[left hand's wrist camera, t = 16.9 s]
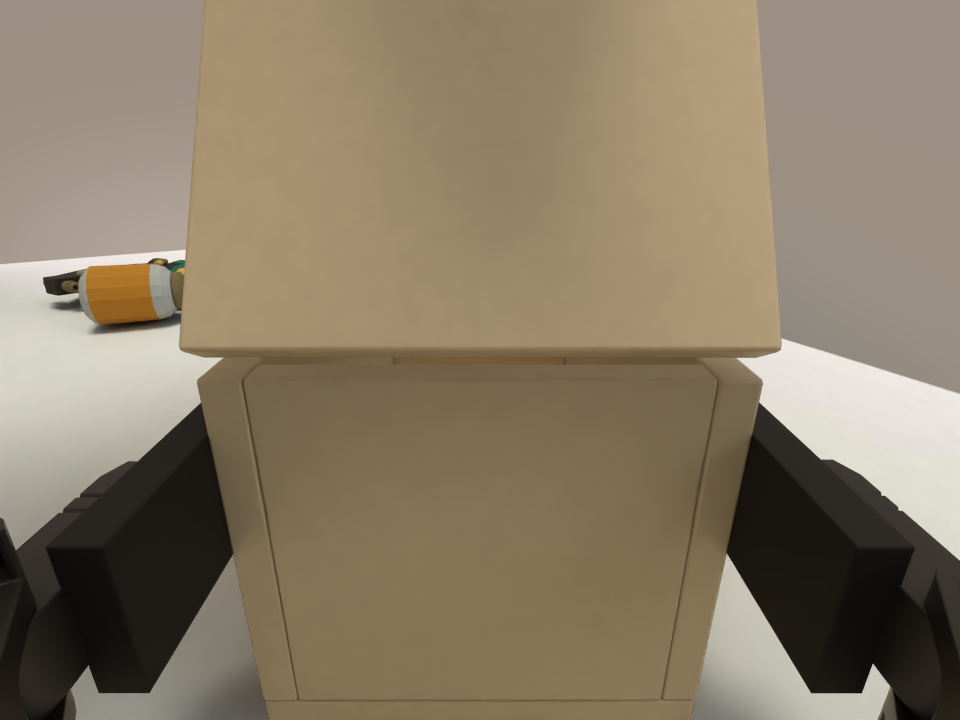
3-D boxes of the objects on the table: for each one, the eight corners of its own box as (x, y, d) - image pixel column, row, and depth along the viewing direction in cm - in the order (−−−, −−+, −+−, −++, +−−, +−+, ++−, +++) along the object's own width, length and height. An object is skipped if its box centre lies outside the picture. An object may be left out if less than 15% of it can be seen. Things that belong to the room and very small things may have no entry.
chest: (383, 405, 28) (371, 232, 25) (575, 405, 28) (587, 232, 25) (267, 725, 13) (194, 380, 9) (691, 724, 13) (765, 380, 9)
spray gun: (47, 304, 47) (227, 283, 57) (69, 342, 35) (292, 307, 45) (34, 255, 46) (220, 242, 55) (52, 276, 34) (285, 255, 43)
